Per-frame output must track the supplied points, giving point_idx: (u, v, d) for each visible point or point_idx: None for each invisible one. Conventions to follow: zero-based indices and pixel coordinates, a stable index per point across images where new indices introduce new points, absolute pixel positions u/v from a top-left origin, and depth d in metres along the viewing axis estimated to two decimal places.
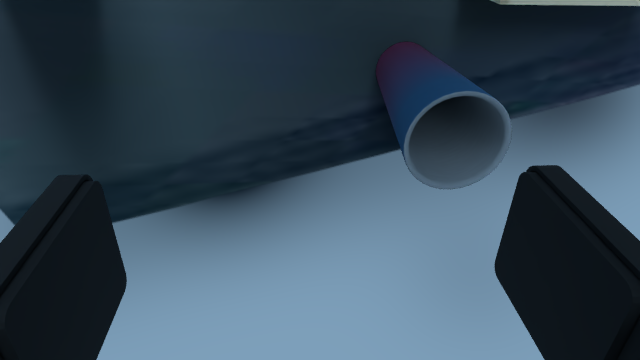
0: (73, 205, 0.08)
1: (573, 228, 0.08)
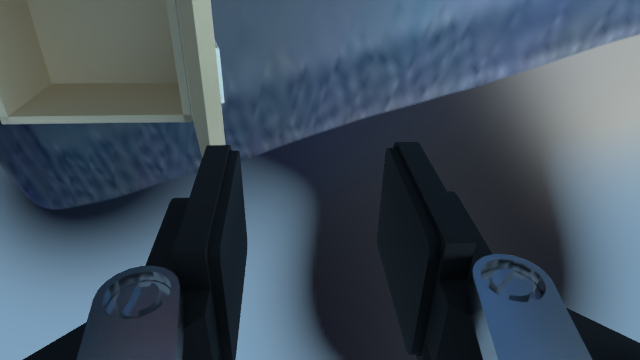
0: (230, 169, 0.09)
1: (407, 194, 0.09)
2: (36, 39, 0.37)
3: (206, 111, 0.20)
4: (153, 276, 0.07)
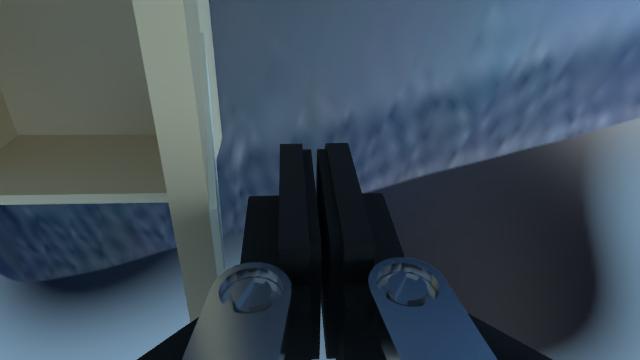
0: (308, 167, 0.10)
1: None
2: None
3: (191, 314, 0.10)
4: (260, 272, 0.07)
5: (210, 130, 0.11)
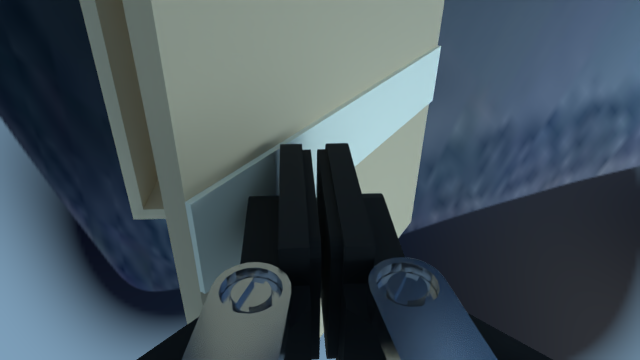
0: (308, 167, 0.10)
1: None
2: None
3: (182, 289, 0.10)
4: (259, 272, 0.07)
5: (295, 136, 0.11)
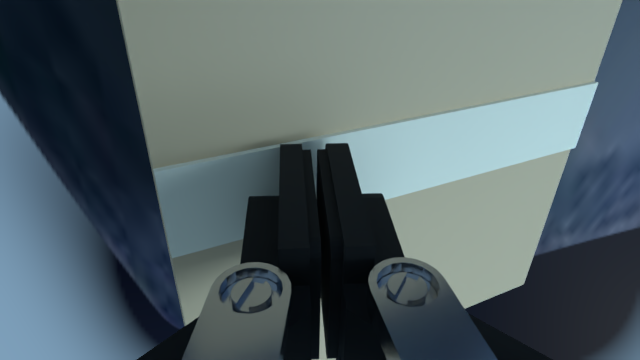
0: (308, 167, 0.10)
1: None
2: None
3: (169, 248, 0.12)
4: (259, 272, 0.07)
5: (306, 140, 0.11)
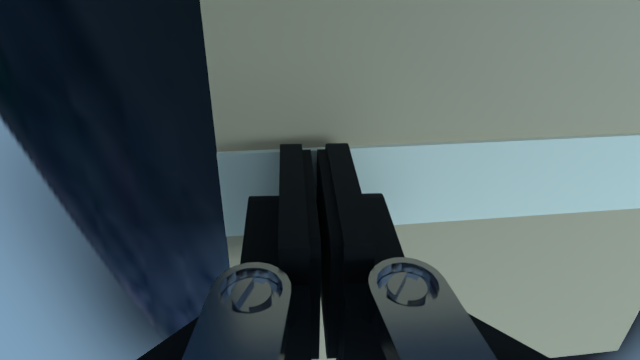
0: (308, 167, 0.10)
1: None
2: None
3: None
4: (259, 272, 0.07)
5: (365, 147, 0.11)
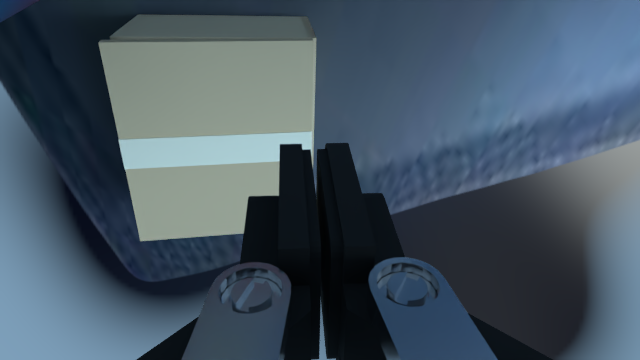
0: (308, 167, 0.10)
1: None
2: None
3: None
4: (259, 272, 0.07)
5: (169, 137, 0.33)
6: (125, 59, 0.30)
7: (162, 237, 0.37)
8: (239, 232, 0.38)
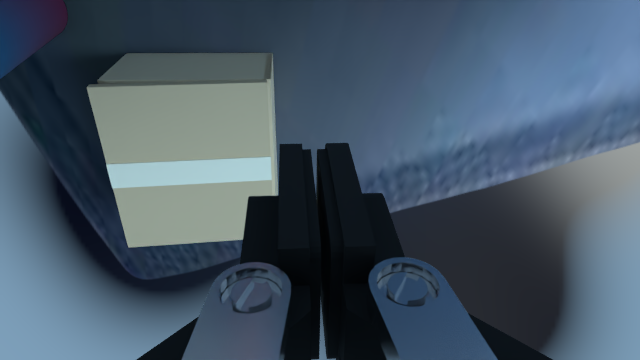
0: (308, 167, 0.10)
1: None
2: None
3: None
4: (259, 272, 0.07)
5: (149, 162, 0.39)
6: (109, 100, 0.36)
7: (146, 244, 0.43)
8: (212, 240, 0.44)
